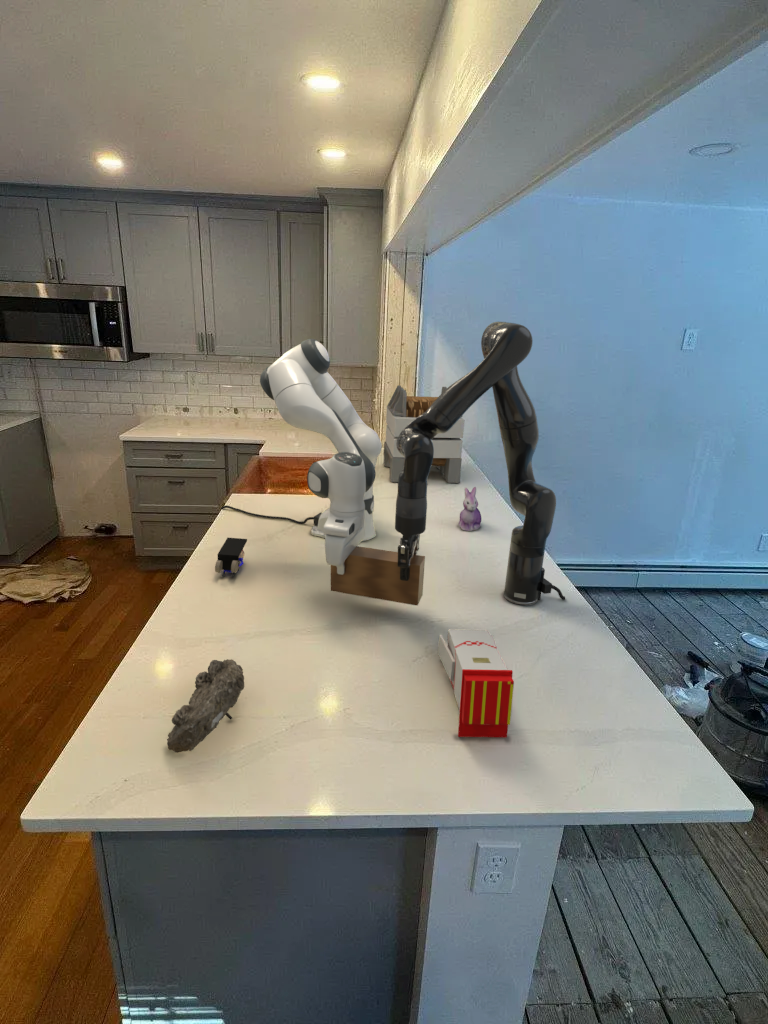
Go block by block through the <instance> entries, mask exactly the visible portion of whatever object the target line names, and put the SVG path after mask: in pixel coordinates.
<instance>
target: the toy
mask: <svg viewBox="0 0 768 1024" xmlns="http://www.w3.org/2000/svg"><path fill="white" fill-rule="evenodd" d="M446 640H447V643H446V641H445V639H444V636H443V635H442V634H439V637H438V646H437V656H438V657H439V659H440V661H441V663H442V666H443V668H444V670H445V672H446V674H447V677H448V679H449V681H450V684H451V687H452V690H453V693H454V697H455V701H456V705H457V708H458V711H459V714H458V715H459V716H458V730H457V731H458V732H457V737H458V738H508V731H509V726H510V725H511V717H512V707H513V697H514V696H513V695H514V684H515V680H514V679H513V673H514V671H513V670H512V669H508V667H507V665H506V662H505V661H504V659H503V658H502V655H501V653H500V651H499V649H498V647H497V643H496V639H495V637H494V635H493V634H491V632H490V631H489V629H467V628H466V629H465V628H463V629H461V628H460V629H459V628H448V630H447V639H446Z"/></svg>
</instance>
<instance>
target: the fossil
mask: <svg viewBox="0 0 768 1024" xmlns="http://www.w3.org/2000/svg"><path fill="white" fill-rule="evenodd" d="M243 670H244V669H243V667H242V665H240V664H237V662H236V661H235V660H234V659H232V658H231V659H227V658H226V659H224V660H223V661H222V660H217V659H212V660H211V661H210V663H209V665H208V666H207V671H201V672H199V673H198V674H197V675H196V676H195V680H194V684H195V685H194V687H195V689H194V690H193V693H192V694H191V697H190V698H189V700H188V704H184V705H182V706H181V707H180V709H177V710H176V711H175V713H174V715H173V716H172V718H171V723H172V724H173V727H172V730H171V731H170V732H168V734H167V738H166V741H167V742H166V745H167V749H168V750H169V751H173V752H174V753H176V754H178V753H182V752H188V751H189V752H192V751H193V750H195V748H196V747H197V746H199V744H200V743H201V742H203V741H204V740H205V739H206V738H207V737H208V736H209V735H210V734H211V733H212V732H214V730H215V729H217V727H218V726H219V724H220V722H221V721H222V720H223V719H224V718H225V716H226V717H227V719H229V720H233V717H232V715H230V714H229V710H230V709H231V708H234V706H235V704H236V703H237V702H238V699H239V697H240V695H241V693H242V691H243V690H245V689H244V688H245V675H244V671H243Z"/></svg>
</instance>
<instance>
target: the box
mask: <svg viewBox="0 0 768 1024" xmlns="http://www.w3.org/2000/svg"><path fill="white" fill-rule="evenodd" d="M409 555H410V554H409ZM403 562H406V561H405V560H403ZM344 566H346V569H345V573H344V574H343V575H341V574H338V573H337V566H333V565H330V592H335V593H339V594H340V593H341V594H346V595H353V596H358V597H364V598H370V599H376V600H382V601H388V602H394V603H399V604H400V603H401V604H404V605H405V604H406V605H411V606H419V604H420V601H421V599H422V597H423V595H424V579H425V566H426V556H425V555H421V554H420V555H419V554H417V555H414V556H413V558H412V559H411V563H410V572H409V580H408V581H403V580H400V567H398V551H392V550H387V549H379V548H372V547H367V546H359V545H358V546H356V547H355V549H354V550H353V551H352V552H351V553H350V554H349V556H348V557H347V559H346V560H345V562H344Z"/></svg>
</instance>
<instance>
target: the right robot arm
mask: <svg viewBox="0 0 768 1024" xmlns="http://www.w3.org/2000/svg"><path fill="white" fill-rule="evenodd" d="M533 341H534V340H533V335H532V333H531V331H530V329H528V327H526V326H525V325H523V324H521V323H515V322H509V321H494V322H491V323H490V324H488V325H487V326H486V327H485V329H484V330H483V332H482V334H481V341H480V343H481V344H480V345H481V346H480V349H481V352H482V357H483V359H482V361H480V363H479V364H478V365H476V366H475V367H474V368H473V369H472V370H470V371H468V372H467V373H466V374H465V375H464V376H462V377H460V378H459V379H458V380H456V381H454V382H452V383H451V384H450V385H449V386H448V387H447V389H446V390H445V391H444V392H443V393H442V394H441V393H440V394H439V396H437V397H438V398H437V399H436V400H435V401H434V402H433V404H432V405H431V406H430V407H429V408H428V409H427V411H426V412H424V413H423V414H422V415H420V416H419V417H417V418H416V419H415V420H414V421H412V422H411V423H410V424H409V425H407V426H406V427H405V428H404V429H403V430H402V432H401V433H400V434H399V436H398V438H397V442H396V446H397V449H398V451H399V453H400V454H401V455H403V456H404V457H405V463H404V468H403V470H402V471H401V472H400V474H399V477H398V482H397V493H396V494H397V495H396V500H395V517H394V519H395V520H394V529H395V531H396V532H397V533H400V534H401V535H402V537H400V539H399V544H398V545H397V552H398V567H400V580H403V581H408V580H409V572H410V563H411V559H412V558H413V556H414V555H418V551H419V550H420V537H421V534H423V533H425V531H426V529H427V528H426V526H427V512H428V499H427V497H428V495H427V494H428V478H429V475H430V473H431V469H432V461H433V456H434V447H433V442H432V440H431V439H432V438H434V437H435V436H436V435H437V434H441V433H446V432H447V431H448V430H450V429H451V427H452V426H453V425H454V424H455V423H456V422H457V421H458V420H459V419H460V417H461V416H462V417H463V416H464V414H465V413H466V412H467V411H468V410H469V409H470V408H471V407H472V406H473V405H474V404H475V403H476V402H477V401H478V400H479V399H480V398H481V397H482V396H483V395H485V393H487V392H488V391H489V390H490V389H492V393H493V398H494V399H493V400H494V404H495V410H496V414H497V420H498V428H499V432H500V437H501V442H502V446H503V452H504V458H505V464H506V469H507V478H508V479H507V480H508V481H507V482H508V494H509V495H508V497H509V501H510V505H511V507H512V509H513V510H515V512H517V513H518V514H520V515H522V516H524V521H523V525H517V526H515V527H514V528H513V529H512V531H511V535H510V543H509V552H508V559H507V565H506V574H505V582H504V588H503V598H504V599H505V600H506V601H508V602H510V603H512V604H515V605H520V606H531V605H534V604H536V603H538V602H539V601H541V599H542V594H544V595H547V594H551V593H552V590H554V591H555V592H557V594H558V596H559V599H561V600H562V601H565V600H566V596H565V595H563V592H562V590H561V589H560V588H559V587H557V586H556V585H554V584H553V583H552V582H550V581H549V580H547V579H546V578H545V573H546V572H545V571H546V569H545V567H543V564H544V558H545V552H546V545H547V540H548V537H549V536H550V534H551V532H552V528H553V522H554V518H555V514H556V509H557V497H556V494H555V492H554V491H553V490H552V489H551V488H549V487H547V486H545V485H542V484H541V483H538V482H537V481H536V479H535V474H534V470H533V457H534V454H535V452H536V449H537V446H538V443H539V439H540V430H539V423H538V418H537V417H538V416H537V413H536V409H535V406H534V403H533V402H532V400H531V398H530V396H529V393H528V392H527V389H525V386H524V384H523V382H522V380H521V377H520V374H519V369H518V366H519V365H520V364H521V363H522V362H523V361H524V360H526V358H527V357H528V356H529V355H530V352H531V351H532V347H533ZM462 417H461V418H462ZM409 554H410V555H409ZM403 560H405V561H406V562H403Z"/></svg>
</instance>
